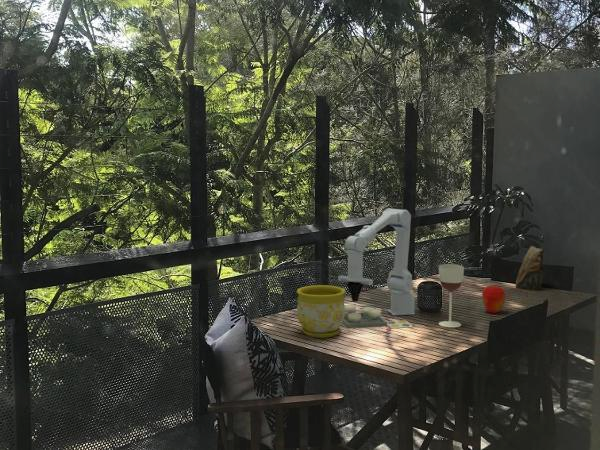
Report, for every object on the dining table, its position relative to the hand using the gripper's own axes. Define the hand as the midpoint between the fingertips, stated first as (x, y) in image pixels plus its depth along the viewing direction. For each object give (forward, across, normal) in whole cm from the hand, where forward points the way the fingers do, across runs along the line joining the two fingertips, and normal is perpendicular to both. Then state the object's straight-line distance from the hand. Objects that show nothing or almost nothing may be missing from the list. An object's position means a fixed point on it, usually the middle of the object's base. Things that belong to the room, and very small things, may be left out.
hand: (355, 301), depth 249 cm
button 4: (+7, +6, +5) cm, 11 cm away
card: (+9, +14, +9) cm, 19 cm away
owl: (+10, +37, +104) cm, 111 cm away
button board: (+9, 0, +5) cm, 11 cm away
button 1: (+7, -5, +5) cm, 10 cm away
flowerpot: (+10, -5, -17) cm, 20 cm away
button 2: (+9, 0, -1) cm, 9 cm away
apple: (+10, +39, +48) cm, 63 cm away
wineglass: (+10, +31, +21) cm, 38 cm away
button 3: (+9, 0, +10) cm, 14 cm away
